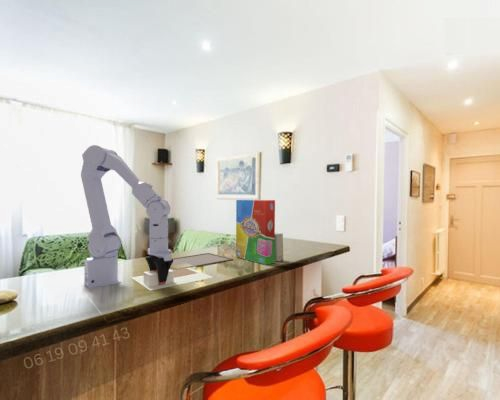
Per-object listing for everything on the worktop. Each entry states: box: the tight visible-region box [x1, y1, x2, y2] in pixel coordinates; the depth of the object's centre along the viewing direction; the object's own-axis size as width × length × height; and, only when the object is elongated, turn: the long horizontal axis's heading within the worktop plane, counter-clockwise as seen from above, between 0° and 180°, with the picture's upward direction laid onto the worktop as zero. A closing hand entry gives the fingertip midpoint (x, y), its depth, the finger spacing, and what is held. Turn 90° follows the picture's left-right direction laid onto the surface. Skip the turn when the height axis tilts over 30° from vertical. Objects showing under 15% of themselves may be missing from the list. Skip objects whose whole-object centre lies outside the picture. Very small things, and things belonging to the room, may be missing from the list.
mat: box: [130, 267, 214, 291], centre depth 97 cm, size 22×18×1 cm
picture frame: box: [170, 252, 234, 270], centre depth 124 cm, size 19×1×28 cm
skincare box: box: [275, 232, 284, 262], centre depth 126 cm, size 6×4×12 cm
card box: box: [143, 268, 174, 287], centre depth 91 cm, size 8×5×4 cm, turn 130°
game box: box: [235, 199, 276, 266], centre depth 126 cm, size 21×6×27 cm, turn 41°
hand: (158, 279), depth 91 cm, fingers open, 6 cm apart
